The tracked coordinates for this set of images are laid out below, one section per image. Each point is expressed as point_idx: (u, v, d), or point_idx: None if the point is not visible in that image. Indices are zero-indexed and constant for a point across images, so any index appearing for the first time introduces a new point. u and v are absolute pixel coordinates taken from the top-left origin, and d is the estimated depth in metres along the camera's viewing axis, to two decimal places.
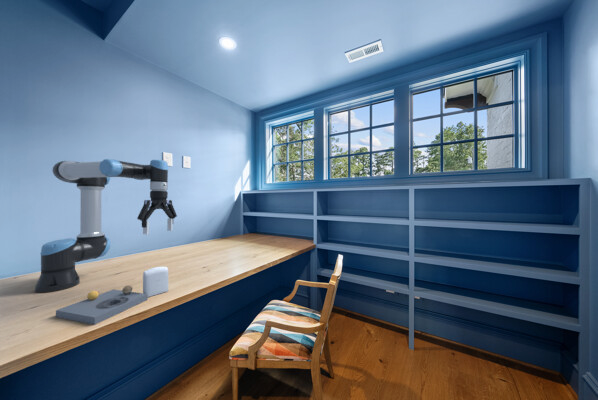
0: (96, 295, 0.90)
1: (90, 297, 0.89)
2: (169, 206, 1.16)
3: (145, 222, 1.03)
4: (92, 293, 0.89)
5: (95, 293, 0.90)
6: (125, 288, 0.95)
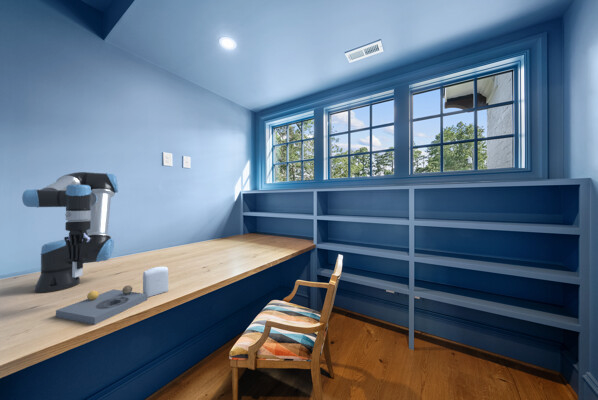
0: (96, 295, 0.90)
1: (90, 297, 0.89)
2: None
3: None
4: (92, 293, 0.89)
5: (95, 293, 0.90)
6: (125, 288, 0.95)
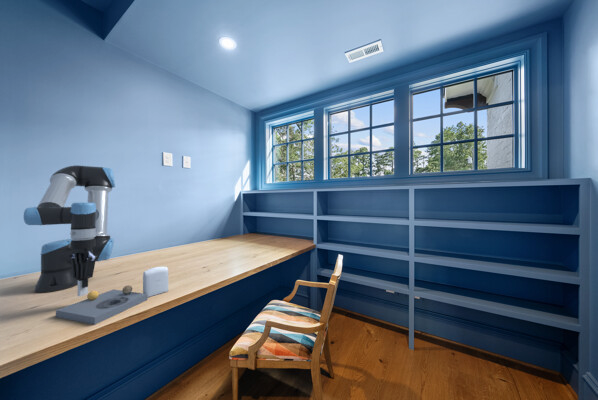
0: (96, 295, 0.90)
1: (90, 297, 0.89)
2: None
3: None
4: (92, 293, 0.89)
5: (95, 293, 0.90)
6: (125, 288, 0.95)
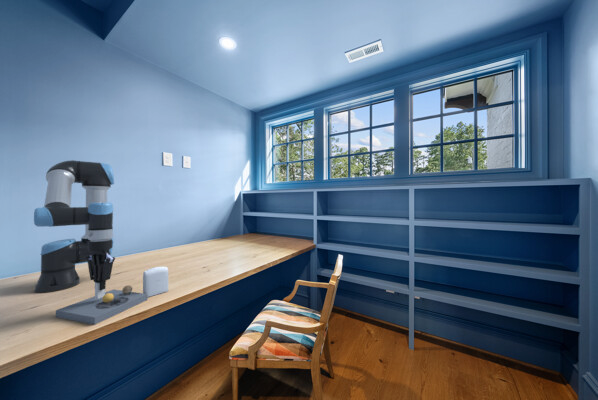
0: (109, 293, 0.88)
1: (105, 296, 0.86)
2: None
3: None
4: (104, 295, 0.87)
5: None
6: (125, 288, 0.95)
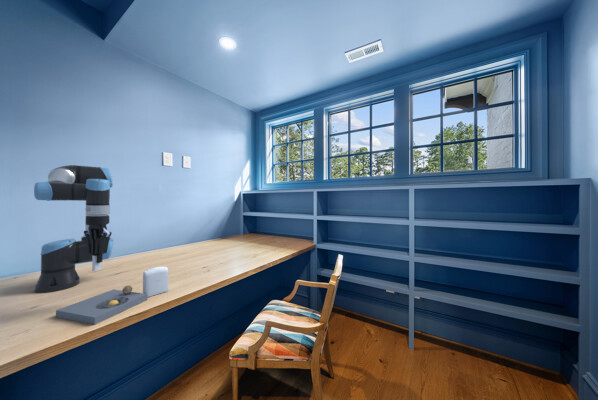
0: None
1: None
2: None
3: None
4: (113, 304, 0.86)
5: None
6: (125, 288, 0.95)
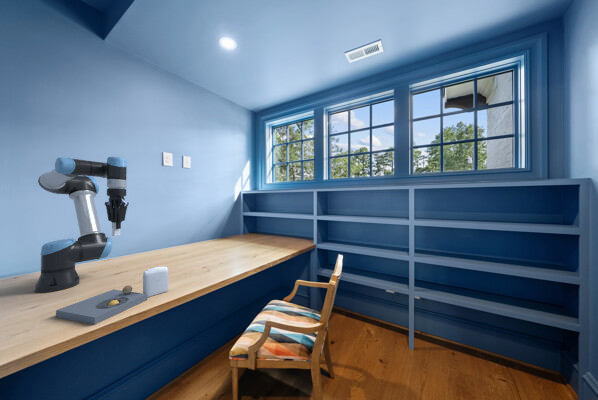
0: None
1: None
2: None
3: None
4: None
5: None
6: (125, 288, 0.95)
